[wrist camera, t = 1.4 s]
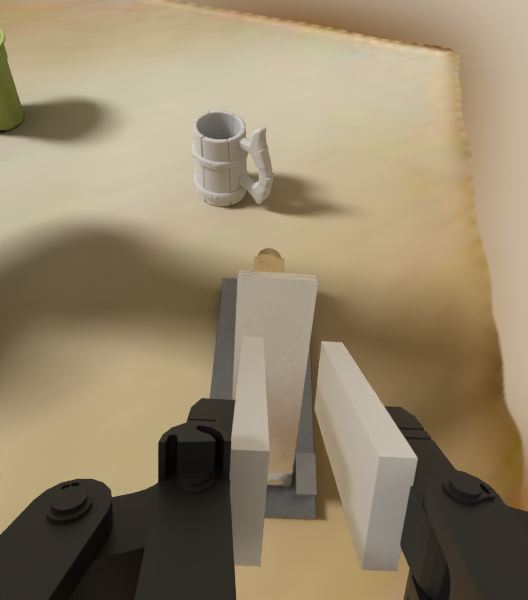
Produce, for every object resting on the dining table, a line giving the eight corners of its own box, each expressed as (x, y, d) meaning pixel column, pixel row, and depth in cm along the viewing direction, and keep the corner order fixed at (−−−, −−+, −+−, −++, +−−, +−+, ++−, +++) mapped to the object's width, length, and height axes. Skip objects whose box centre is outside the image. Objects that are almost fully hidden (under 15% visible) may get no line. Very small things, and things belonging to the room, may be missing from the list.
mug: (216, 164, 56) (211, 82, 45) (283, 197, 53) (294, 118, 43) (183, 192, 52) (170, 110, 42) (253, 230, 49) (257, 152, 39)
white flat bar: (288, 472, 32) (290, 491, 30) (229, 470, 31) (228, 488, 30) (314, 273, 24) (318, 283, 23) (239, 268, 24) (237, 277, 23)
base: (313, 518, 32) (332, 516, 26) (198, 514, 32) (188, 510, 26) (306, 288, 45) (317, 249, 39) (223, 282, 45) (221, 243, 38)
